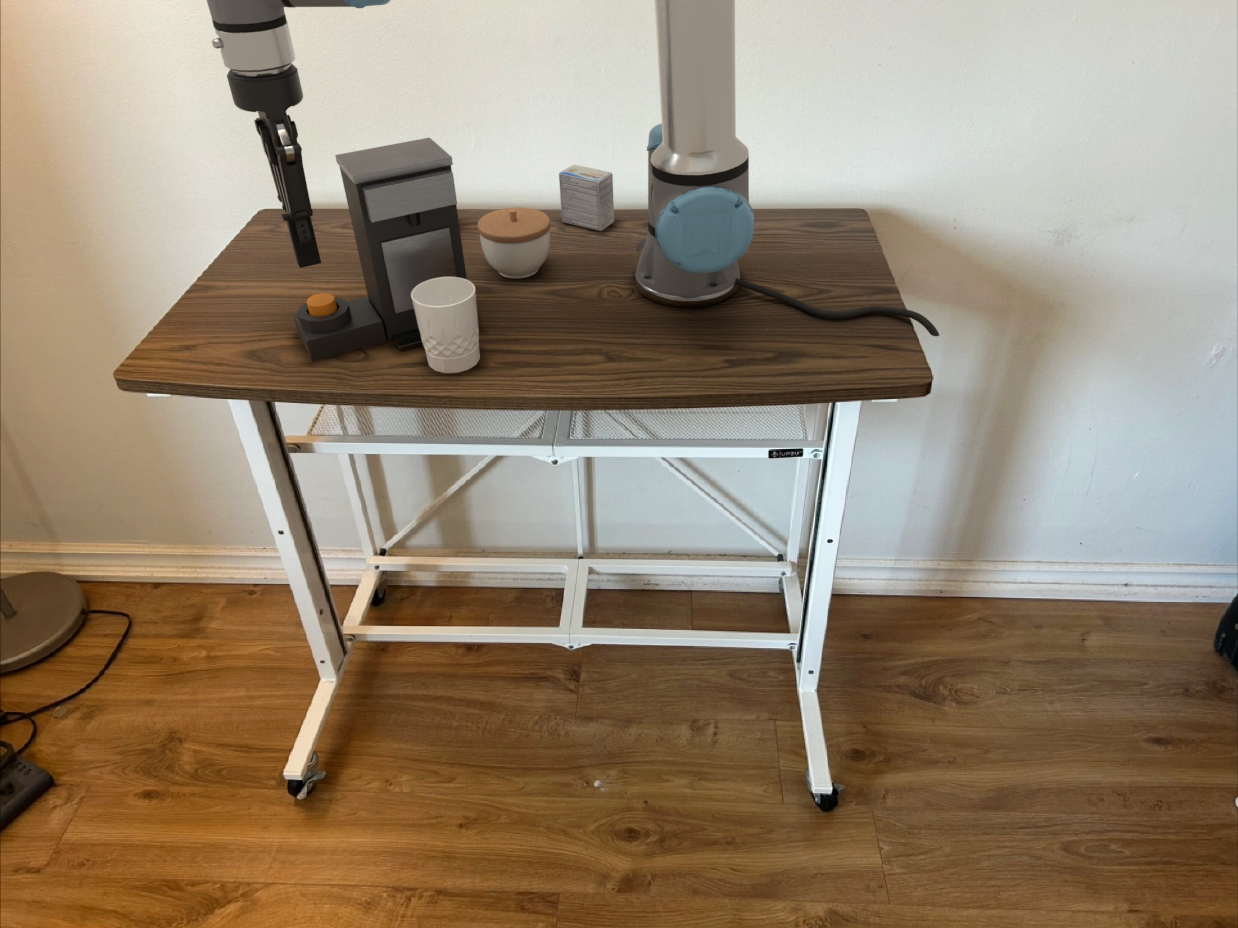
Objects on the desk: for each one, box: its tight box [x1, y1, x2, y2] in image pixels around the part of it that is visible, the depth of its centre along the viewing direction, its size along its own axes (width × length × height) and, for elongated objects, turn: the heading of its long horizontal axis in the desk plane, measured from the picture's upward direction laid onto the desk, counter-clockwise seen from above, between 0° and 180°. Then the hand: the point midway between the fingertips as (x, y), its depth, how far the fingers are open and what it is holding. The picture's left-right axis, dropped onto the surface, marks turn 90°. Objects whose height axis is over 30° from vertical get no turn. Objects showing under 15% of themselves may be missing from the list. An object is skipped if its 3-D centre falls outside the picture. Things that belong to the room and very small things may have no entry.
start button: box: [306, 292, 337, 316], centre depth 117 cm, size 4×4×2 cm
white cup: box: [411, 277, 481, 374], centre depth 113 cm, size 8×8×10 cm
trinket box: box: [477, 206, 551, 279], centre depth 133 cm, size 11×11×9 cm
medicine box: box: [558, 164, 615, 232], centre depth 146 cm, size 8×4×9 cm, turn 58°
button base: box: [292, 296, 388, 362], centre depth 119 cm, size 10×8×5 cm
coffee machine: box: [334, 137, 468, 353], centre depth 117 cm, size 12×12×23 cm
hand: (309, 263), depth 113 cm, fingers closed
